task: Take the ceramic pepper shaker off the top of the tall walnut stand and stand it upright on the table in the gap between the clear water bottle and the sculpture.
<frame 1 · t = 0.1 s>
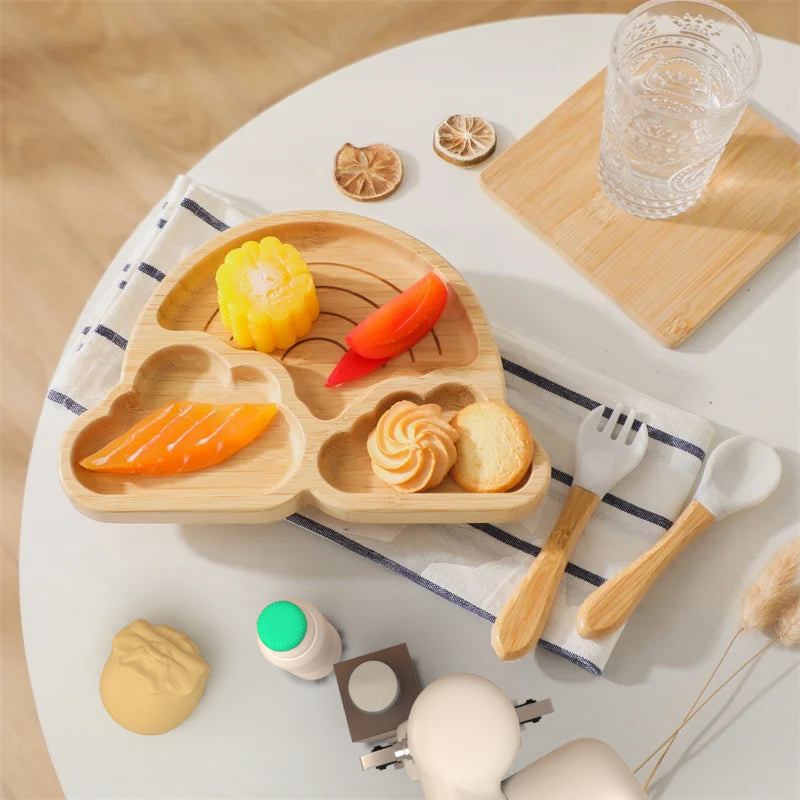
hand: (455, 734, 86), 21 cm above the table, tool pointing down, fingers open, 9 cm apart
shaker: (379, 691, 82), point 26 cm above the table, touching stand
sculpture: (166, 681, 109), on the table
stand: (392, 703, 107), on the table
water bottle: (313, 649, 109), on the table
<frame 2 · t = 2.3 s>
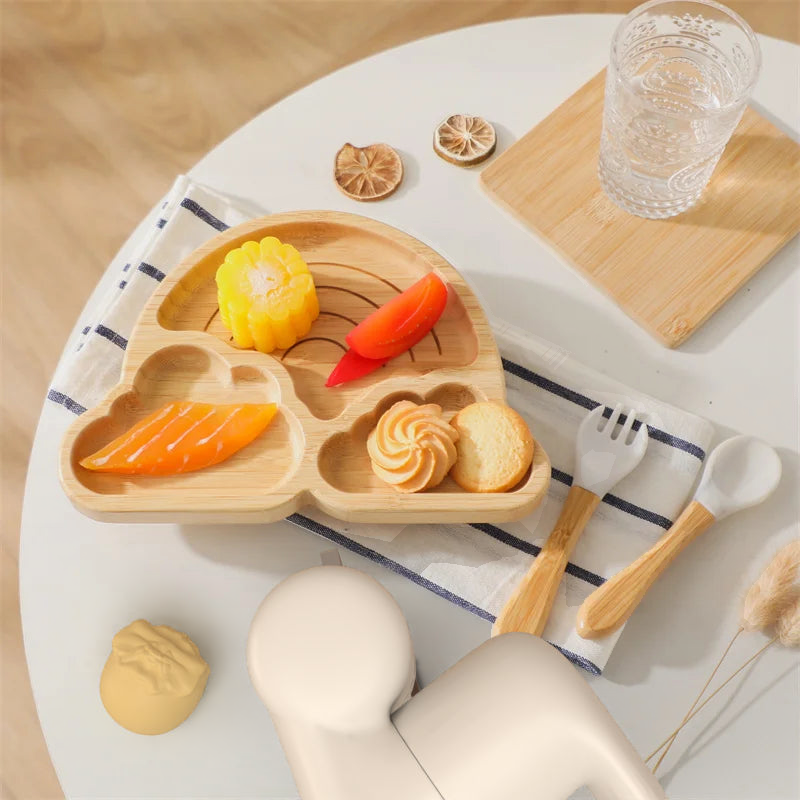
hand: (369, 683, 67), 42 cm above the table, tool pointing down, fingers open, 9 cm apart
nothing on the table moved.
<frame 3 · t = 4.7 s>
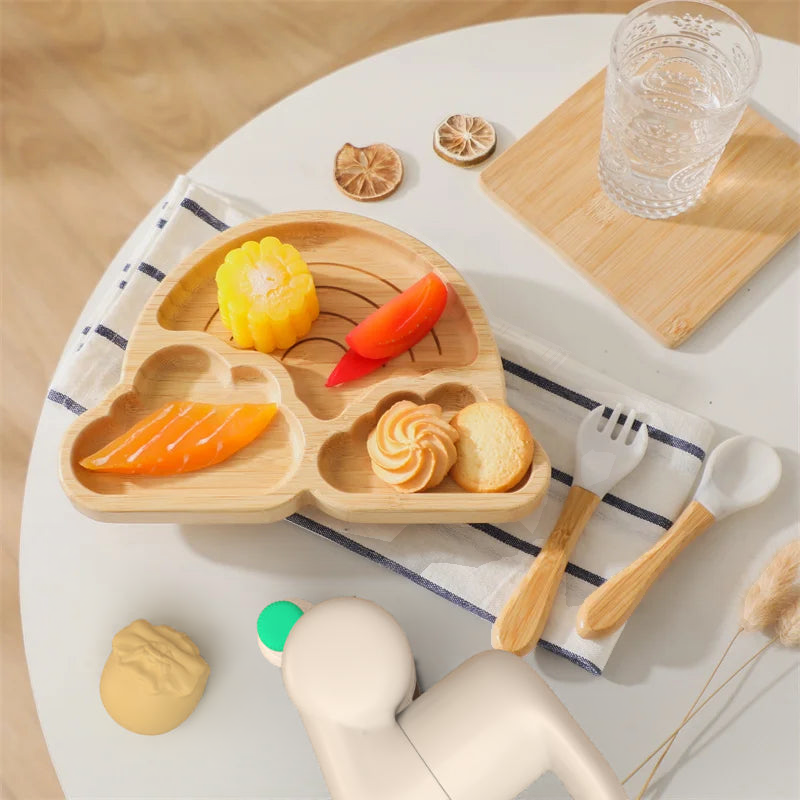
hand: (376, 689, 79), 30 cm above the table, tool pointing down, fingers closed on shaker, 4 cm apart
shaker: (379, 691, 82), point 26 cm above the table, touching gripper, stand
everything else where it was.
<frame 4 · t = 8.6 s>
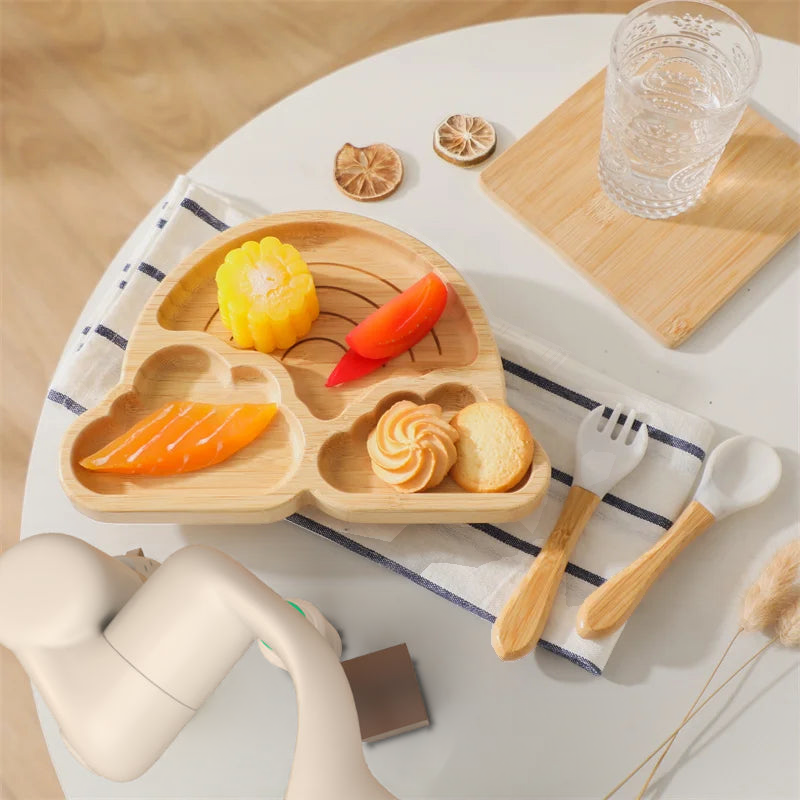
hand: (171, 640, 82), 29 cm above the table, tool pointing down, fingers closed on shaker, 4 cm apart
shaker: (182, 644, 85), point 25 cm above the table, touching gripper
everything else where it was.
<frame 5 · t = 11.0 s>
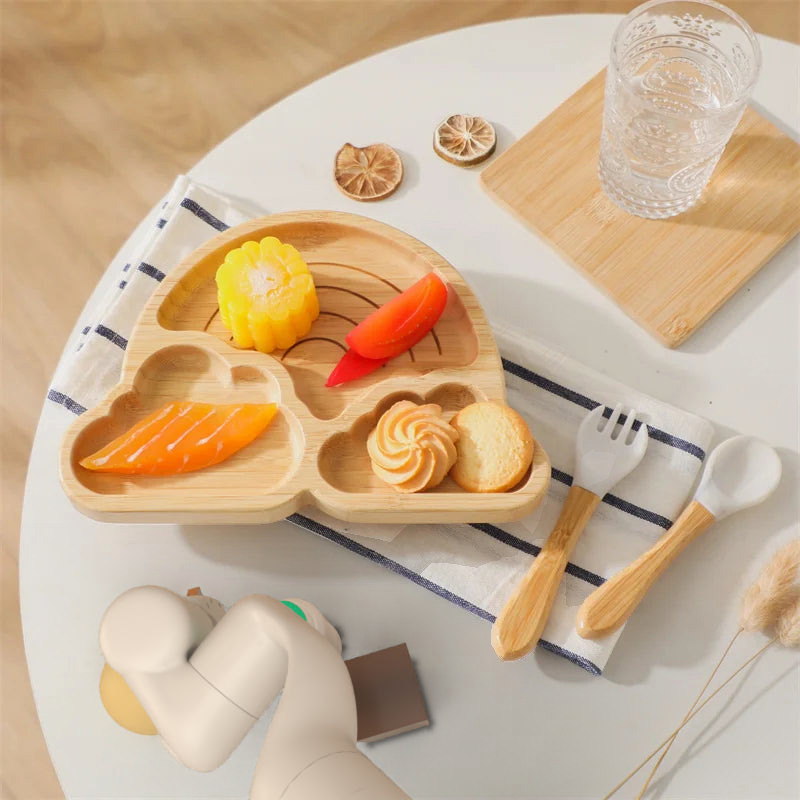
hand: (222, 660, 100), 9 cm above the table, tool pointing down, fingers closed on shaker, 4 cm apart
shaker: (229, 662, 104), point 5 cm above the table, touching gripper
everything else where it was.
when the fingers open (4 cm above the table, at t = 12.6 s): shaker stays where it is, on the table.
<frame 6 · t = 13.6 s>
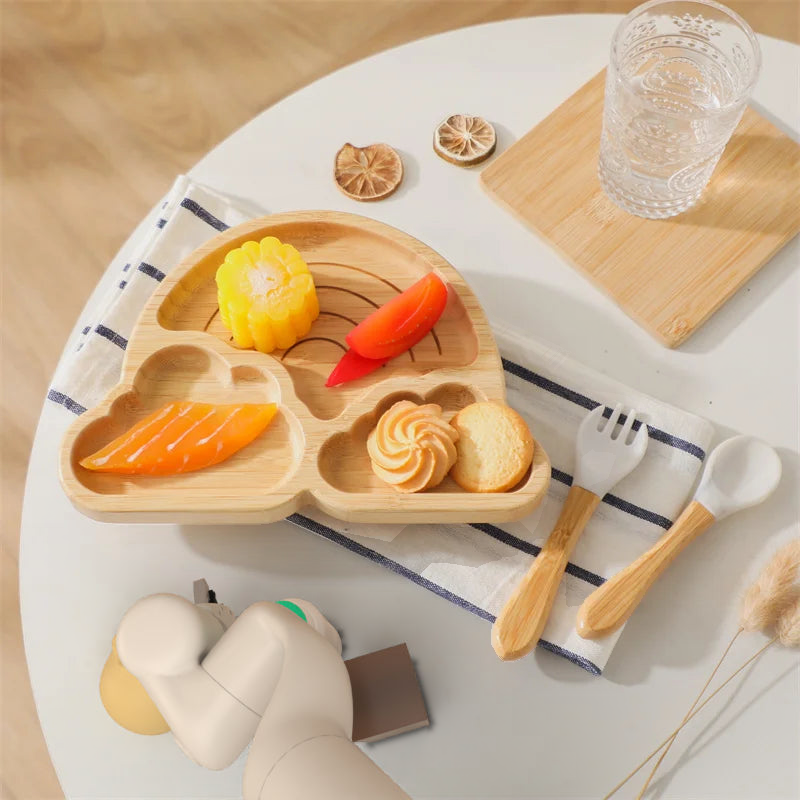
hand: (231, 665, 103), 6 cm above the table, tool pointing down, fingers open, 9 cm apart
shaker: (239, 666, 109), on the table
everything else where it was.
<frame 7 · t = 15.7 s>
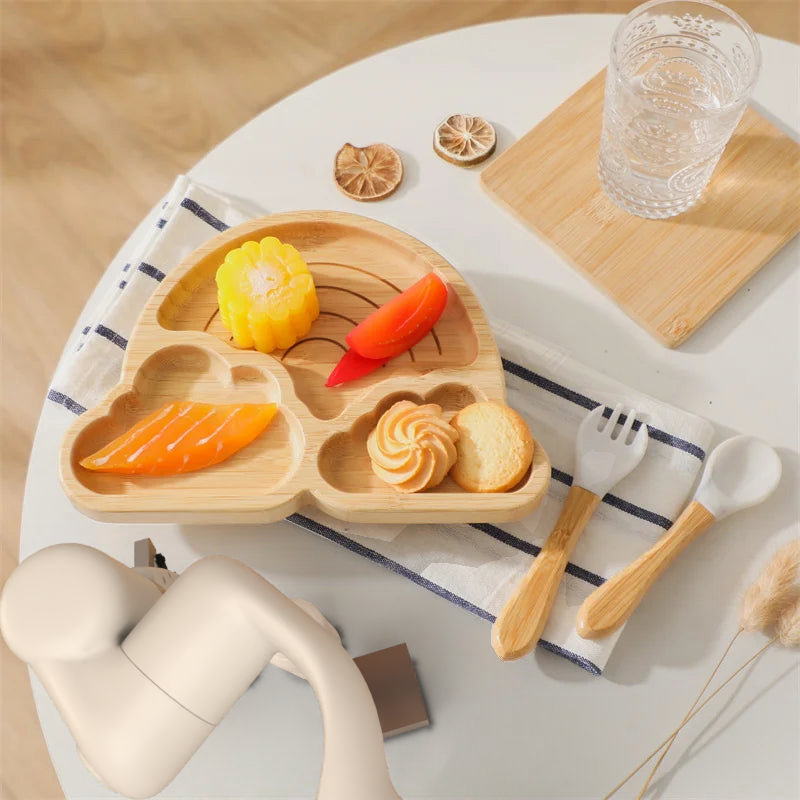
hand: (188, 652, 80), 31 cm above the table, tool pointing down, fingers open, 9 cm apart
nothing on the table moved.
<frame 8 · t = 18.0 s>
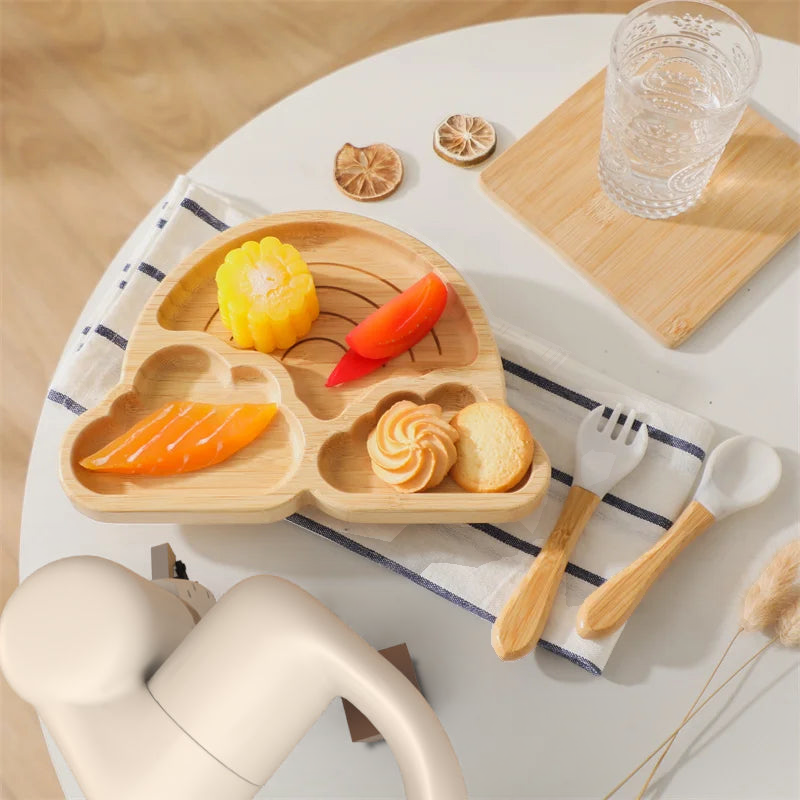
hand: (210, 673, 70), 40 cm above the table, tool pointing down, fingers open, 9 cm apart
nothing on the table moved.
at the end: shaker 0.1 cm from the target spot, on the table; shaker tilted 0°; water bottle moved 0.2 cm from its start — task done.
